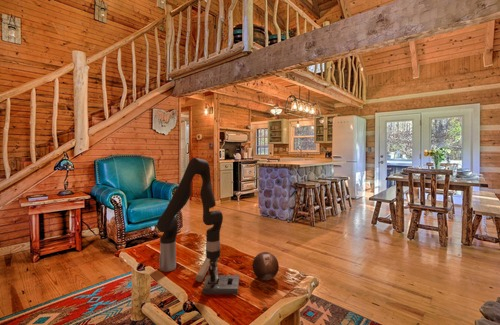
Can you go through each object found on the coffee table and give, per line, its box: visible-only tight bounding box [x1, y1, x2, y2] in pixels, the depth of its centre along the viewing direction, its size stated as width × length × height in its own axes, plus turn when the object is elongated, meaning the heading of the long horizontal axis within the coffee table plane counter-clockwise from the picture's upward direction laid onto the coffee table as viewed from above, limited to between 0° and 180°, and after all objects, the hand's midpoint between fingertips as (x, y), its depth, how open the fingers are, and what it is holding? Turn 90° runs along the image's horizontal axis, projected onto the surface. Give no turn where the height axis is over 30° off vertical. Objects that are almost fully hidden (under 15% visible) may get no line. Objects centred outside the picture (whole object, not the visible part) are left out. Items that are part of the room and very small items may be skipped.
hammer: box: [195, 257, 219, 283], centre depth 154 cm, size 16×5×30 cm
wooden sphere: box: [251, 251, 280, 281], centre depth 144 cm, size 15×15×15 cm
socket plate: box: [202, 274, 240, 295], centre depth 135 cm, size 18×14×3 cm
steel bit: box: [209, 266, 219, 284], centre depth 135 cm, size 4×4×8 cm
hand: (213, 279), depth 135 cm, fingers closed on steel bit, 4 cm apart
